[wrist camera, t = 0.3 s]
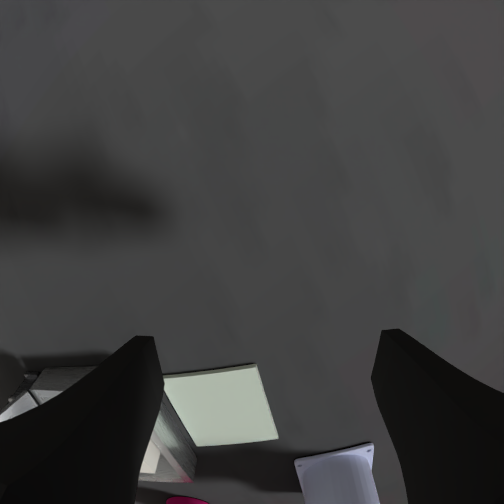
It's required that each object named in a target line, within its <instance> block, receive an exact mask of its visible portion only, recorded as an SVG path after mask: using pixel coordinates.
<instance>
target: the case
mask: <svg viewBox="0 0 504 504" xmlns="http://www.w3.org/2000/svg"><path fill="white" fill-rule="evenodd" d="M98 366H99V365H98ZM96 367H97V366H79V367H46V368H45V369H44V370H43V371H42V373H41V374H40V373H39V372H26V373H25V374H24V376H25V377H26V379H25V380H24V381H23V383H22V384H21V385H20V387H19V388H18V389H17V391H16V392H15V393H14V395H11V396H9V397H8V401H9V402H8V403H7V404H6V406H7V405H8V404H9V403H10V402H11V401H12V400H14V399H15V398H16V397H17V396H18V395H20V394H21V393H22V392H23V391H24V390H26V391H28V393H29V394H30V396H31V397H32V398H33V400H34V401H35V402H36V404H37V405H38V406H39V405H41V404H43V403H45V402H46V401H48V400H50V399H51V398H53V397H55V396H57V395H58V394H60V393H61V392H63V391H64V390H66V389H67V388H69V387H70V386H72V385H73V384H75V383H76V382H77V381H79V380H80V379H81V378H83V377H84V376H85V375H87V374H88V373H90V372H91V371H92V370H94V369H95V368H96ZM151 439H152V441H153V442H154V444H155V445H156V446H157V448H158V449H159V450H160V456H159V459H158V463H157V467H156V471H155V473H141V472H140V474H139V479H138V480H144V481H159V482H193V481H194V474H195V468H196V461H197V456H196V455H195V453H194V452H193V450H192V449H191V447H190V445H189V444H188V442H187V441H186V439H185V438H184V436H183V435H182V433H181V431H180V430H179V428H178V427H177V425H176V423H175V422H174V420H173V418H172V417H171V415H170V413H169V412H168V410H167V408H166V407H165V405H164V403H163V401H162V402H161V407H160V411H159V414H158V417H157V420H156V423H155V426H154V429H153V432H152V435H151Z"/></svg>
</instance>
